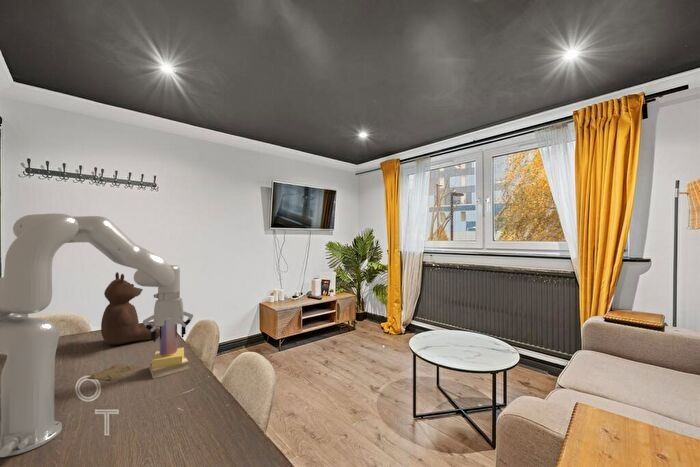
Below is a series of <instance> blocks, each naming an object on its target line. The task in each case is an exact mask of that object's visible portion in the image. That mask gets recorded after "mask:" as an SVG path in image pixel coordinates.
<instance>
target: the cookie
mask: <svg viewBox="0 0 700 467" xmlns="http://www.w3.org/2000/svg"><path fill="white" fill-rule="evenodd" d="M140 368H141V366H138V365H127V364H123V363H120V364H115V365H112V366H110V367H108V368H105V369H104V370H101V371H100V372H97V373H95V374H91V375H89V376H88V377H87V379H90V380H99V381H108V382H110V381H111V382H114V381H116V380H118V379H120V378H122V377H124V376H126V375H127V374H128V375H129V374H130V373H132V372H134V371H136V370H139V369H140Z"/></svg>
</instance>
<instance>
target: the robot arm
mask: <svg viewBox="0 0 700 467" xmlns="http://www.w3.org/2000/svg"><path fill="white" fill-rule="evenodd" d="M12 233H13V234H14V236H15V237H16V238H15V239H14V241H12V243H11V244H10V246H9V248H7V251H6V254H5V258H4V270H3V276H2V277H0V355H5V356H6V360H5V362H4V365H3V368H2V370H1V376H0V458H4V457H5V458H6V457H13V456H15V455H19V454H23V453H26V452H30V451H32V450H34V449H37V448H39V447H41V446H43V445H45V444H47V443H49V442H51V441H52V440H53V439H54V438H56V437H57V436H58V435H59V434H60V433H61V432H62V430H63V424H62V422H61V421H58V420H55V382H56V381H55V378H56V377H55V376H56V374H55V368H56V367H55V365H56V364H55V363H56V354H57V349H58V345H59V341H60V330H59V327H58V326H57V325H56V324H55V323H54V322H52V321H50V320H49V319H46V318H40V317H39V318H38V317H30V316H29V315H31V314H36V313H39V312H41V311H44V310H45V309H47V308H48V307H49V306H50V304H51V302H52V298H53V261H54V256H55V254H56V252H58V250H59V249H60V248H61V247H62V246H64V245H65V244H68V243H74V244H75V243H89V244H91V245H92V246H93V247H94V248H96V249H97V250H98V251H99V252H101V253H102V254H103V255H104V256H106V257H107V258H108V259H109V260H110V261H111V262H113V263H115V264H118V265H121V266H123V267H126V268H132V269H134V270H136V271H135V272H134V273H133V281H134V282H135V284H137V285H139V286H141V287H151V288H153V287H154V288H157V293H155V294H153V298H154V299H155V298H156V300H155V303H154V308H153V314H152V315H150V316H149V317H147V318H145V319H143V321H142V323H143V324H144V325H145V327H146V328H147V329H149V330H150V331H151V340H152V341H153V343H154V342H155V343H156V340H157V338H156V330H155V329H156V328H158V327H159V328H160V326H164V321H165V320H166V318H171V319H172V320H173V324H174V325H176V324H177V325H180V326H181V332H180V333H181V338H184V335H186V333H187V332H186V328H187V326H188V325H189V324H190V323H191V321H192V319H193V317H194V315H193V313H190V312H187V311H184V303H183V298H182V297H180V296H181V294H180V293H181V291H180V290H181V288H180V287H181V284H180V283H181V274H180V273H181V270H180V269H181V268H180V266H179V265H176V264H168V263H167V261H165V260H164V258H161V257H160V256H158V255H157V254H155V253H153V252H151V251H150V250H147V249H146V248H144V247H142V246H140V245H138V244H137V243H135V242H134V241H133V240H132V239H131V238H130V237H129V236H128V235H126V234H125V233H124V232H123V231H122V230H121V229H120V228H119V227H118V226H117V225H115V223H114V222H112V220H110V219H108V218H107V217H104V216H100V215H91V216H89V215H87V216H86V215H84V216H83V215H82V216H72V215H69V214H64V213H38V214H36V213H35V214H27V215H23V216H22V217H20V218H18V219H17V220H16V221H15V223H13V227H12ZM184 317H187V320H184ZM152 320H153V324H151V325H152V326H151V325H149V324H150V323H149V322H151V321H152Z"/></svg>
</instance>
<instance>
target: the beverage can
mask: <svg viewBox="0 0 700 467" xmlns="http://www.w3.org/2000/svg"><path fill="white" fill-rule="evenodd" d="M159 329H160V336H159V351H160V355H161V356H171V355H174V354H175V353H176V352H177V348H178V324H176V325H174V324H173V320H172V319H171V318H166V320H165V321H164V326H160V327H159Z"/></svg>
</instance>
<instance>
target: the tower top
mask: <svg viewBox="0 0 700 467" xmlns="http://www.w3.org/2000/svg"><path fill="white" fill-rule="evenodd" d="M183 356H185V347H179V348H178V347H177V352H176V353H175V354H174V355H171V356H161V355H160V350H156V351H155V353H154V355H153V358H152V359H151V360H152V368H159V367H165V366H171V365H177V364H182V362H183Z"/></svg>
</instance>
